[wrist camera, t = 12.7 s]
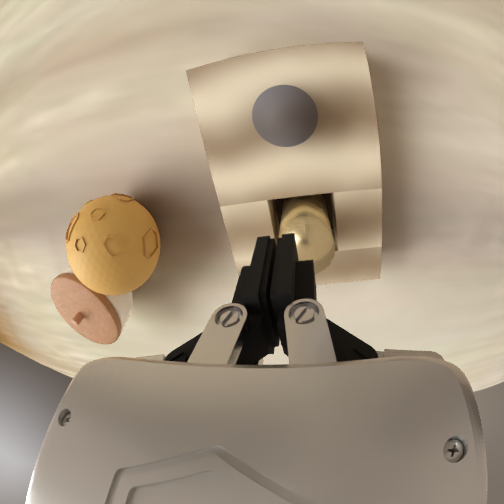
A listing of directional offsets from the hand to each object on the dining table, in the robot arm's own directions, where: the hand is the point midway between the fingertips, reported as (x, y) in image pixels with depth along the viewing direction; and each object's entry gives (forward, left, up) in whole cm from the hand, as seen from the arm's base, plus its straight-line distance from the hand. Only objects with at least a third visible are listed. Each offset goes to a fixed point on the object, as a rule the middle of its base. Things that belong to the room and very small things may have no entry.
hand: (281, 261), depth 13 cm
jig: (-1, +1, -14) cm, 14 cm away
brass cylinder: (+3, +1, -14) cm, 14 cm away
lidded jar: (+9, -25, -14) cm, 30 cm away
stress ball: (+2, -17, -14) cm, 22 cm away
